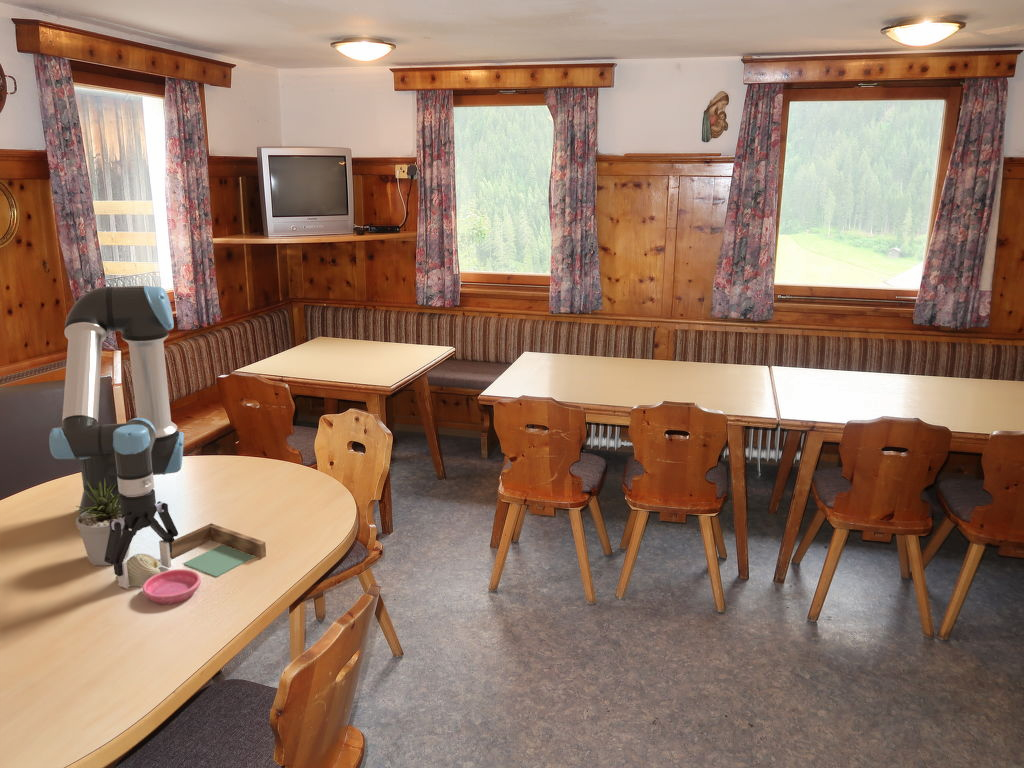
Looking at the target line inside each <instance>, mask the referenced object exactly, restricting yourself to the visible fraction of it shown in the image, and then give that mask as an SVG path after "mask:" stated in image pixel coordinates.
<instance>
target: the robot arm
mask: <svg viewBox="0 0 1024 768" xmlns="http://www.w3.org/2000/svg"><path fill="white" fill-rule="evenodd" d="M174 324H175V323H174V316H173V310H172V305H171V300H170V297H169V295H168V293H167V290H165V289H164V288H163V287H161V286H148V285H132V286H131V285H130V286H127V285H126V286H100V287H96V288H93V289H91V290H89V291H87V292H85V294H83V295H82V296H81V297H79V299H77V300H76V302H75V303H73V305H72V307H71V309H70V310H69V312H68V313H67V316H66V318H65V323H64V329H63V330H64V337H65V339H67V340H68V341H67V354H66V365H65V366H66V367H65V368H66V369H65V378H64V379H65V380H64V391H63V392H64V395H63V404H62V405H63V406H62V407H63V408H62V417H61V418H62V421H61V426H58V427H52V429H51V430H50V434H49V438H48V440H49V441H48V442H49V450H50V453H51V455H52V457H53V458H54V459H57V460H76V459H79V464H80V471H81V478H82V479H81V480H82V486H83V488H82V489H83V492H82V496H81V500H80V505H79V507H78V510H81V509H86V508H80V507H96V506H95V505H96V504H95V503H94V502H93V501H92V499H91V498H90V497H89V496H88V495H87V494H86V492H87V493H88V494H89V495H90V496H91V497H92V498H93V499H94V500H95V496H94V495H93V493H92V491H91V489H90V487H91V488H92V489H93V490H95V489H96V491H97V490H98V492H99V482H101V486H102V490H103V494H104V483H105V493H106V491H107V489H108V488H109V487H110V486H111V485H112V487H111V488H110V490H111V489H112V488H113V486H114V485H115V487H114V488H113V489H112V491H111V494H112V495H113V497H115V496H117V495H118V494H120V495H119V497H118V501H117V503H116V505H118V504H119V503H120V507H121V510H122V517H121V519H119V520H116V521H114V520H111V521H110V522H109V525H110V534H109V539H108V544H107V549H106V553H105V558H104V561H105V562H107V563H109V564H111V566H113V571H114V575H115V576H118V580H117V581H118V586H120V587H122V588H125V589H128V588H130V586H129V580H128V571H127V561H125V559H124V558H125V555H126V553H127V551H128V548H129V546H130V547H131V542H132V541H133V538H134V537H135V536H136V535H137V532H138V531H142V529H143V528H148V527H150V528H151V529H152V530H153V531H154V533H156V534H157V535H158V536H159V537H160V538H161V540H159V541H158V543H159V545H158V546H159V555H160V566H163V567H165V568H167V569H169V568H172V561H171V559H172V558H170V553H171V552H172V543H171V542H174V540H175V537H178V535H179V531H178V529H177V528H176V525H175V523H174V520H173V519H172V516H171V514H170V513H169V504H168V503H165V502H163V501H157V500H156V491H155V490H156V489H154V488H155V482H154V480H155V479H154V476H158V475H167V474H175V473H178V472H179V471H180V470H181V469H182V466H183V454H184V445H185V443H184V440H185V433H184V432H183V431H179V429H178V427H179V426H178V425H177V424H176V423H174V422H173V421H172V418H171V417H172V415H171V407H170V397H169V396H170V395H169V385H168V377H167V365H166V364H167V363H166V356H165V344H164V341H165V340H166V339H167V338H168V337H169V335H170V334H169V331H171V330H173V329H174V327H175V326H174ZM108 332H120V335H121V339H122V340H123V341H124V342H125V343H127V344H128V350H129V351H128V352H129V360H130V368H131V377H132V385H133V395H134V403H135V412H136V417H134V418H132V419H129V420H128V421H127V422H125V423H123V422H122V423H112V424H111V423H108V424H98V423H99V408H100V392H101V391H100V390H101V369H102V368H101V367H102V353H103V351H102V350H103V342H104V341H105V340H106V339H107V337H108V336H107V335H108ZM104 478H105V481H104ZM87 482H88V483H89V485H90V487H89V485H88V483H87ZM94 488H95V489H94ZM106 488H107V489H106ZM84 490H85V491H86V492H85V491H84ZM110 490H109V491H110ZM111 494H110V496H109V499H111V498H112V496H111ZM114 500H115V499H114ZM95 501H96V500H95ZM96 502H97V501H96ZM156 502H157V503H156ZM86 511H88V510H84V511H82V512H80V511H78V514H79V515H78V516H80V515H81V514H82V513H84V512H86ZM79 512H80V513H79ZM156 513H157V514H158V516H159V518H160V521H161V522H162V524H163V526H164V527H163V526H162V525H161V524H160V523H159V521H158V520H157V519H156V518H155V515H156ZM123 524H124V527H123V526H122V525H123ZM129 528H130V529H131V531H130V530H129ZM121 529H122V530H121ZM121 531H122V532H123V533H122V535H121Z"/></svg>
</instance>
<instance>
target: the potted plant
mask: <svg viewBox="0 0 1024 768" xmlns="http://www.w3.org/2000/svg"><path fill="white" fill-rule="evenodd" d="M104 481H105V478H104ZM87 483H88V482H87ZM88 485H89V483H88ZM89 487H90V485H89ZM111 487H112V485H111V486H110V487H109V488H108V489H107V488H106V489H107V491H106V493H105V483H104V494H103V490H102V486H101V482H99V492H98V490H97V491H96V489H95V488H94V489H95V490H93V489H92V488H91V487H90V489H91V491H92V493H93V495H94V496H95V500H96V501H97V502H96V501H95V500H94V499H93V498H92V497H91V496H90V495H89V494H88V493H87V492H86V491H85V490H84V489H83V491H85V492H86V494H87V495H88V496H89V497H90V498H91V499H92V501H93V502H94V503H95V504H96V505H95V506H96V507H80V505H79V506H78V505H77V506H75V507H76V508H79V507H80V508H86V509H81V510H79V509H78V510H76V512H78V514H79V513H80V512H82V511H84V510H88V511H86V512H84V513H82V514H81V515H78V516H77V517H76V519H75V524H76V527H77V529H78V531H79V533H80V537H81V539H82V542H83V546H84V548H85V552H86V555H87V557H88V560H89V562H90V563H91V564H93V565H95V566H101V567H102V566H105V567H106V566H110V565H111V564H109V563H107V562H105V561H104V558H105V553H106V549H107V544H108V539H109V534H110V525H109V522H110V521H111V520H114V521H116V520H119V519H121V517H122V510H121V507H120V503H119V504H118V505H116V503H117V501H118V497H119V495H120V494H118V495H117V496H115V497H113V495H112V494H111V491H112V489H113V488H114V487H115V485H114V486H113V488H112V489H111V490H110V488H111ZM109 490H110V491H109ZM110 494H111V496H112V498H111V499H109V496H110ZM114 499H115V500H114ZM79 511H80V512H79ZM122 526H123V527H124V524H123V525H122ZM121 530H122V529H121ZM129 530H130V531H131V530H132V529H130V528H129ZM122 533H123V532H122V531H121V535H122ZM130 547H131V545H130V546H129V548H128V551H127V553H126V555H125V558H124V560H126V559H127V558H128V557H129V554H130V549H131V548H130ZM111 566H112V565H111Z"/></svg>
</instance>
